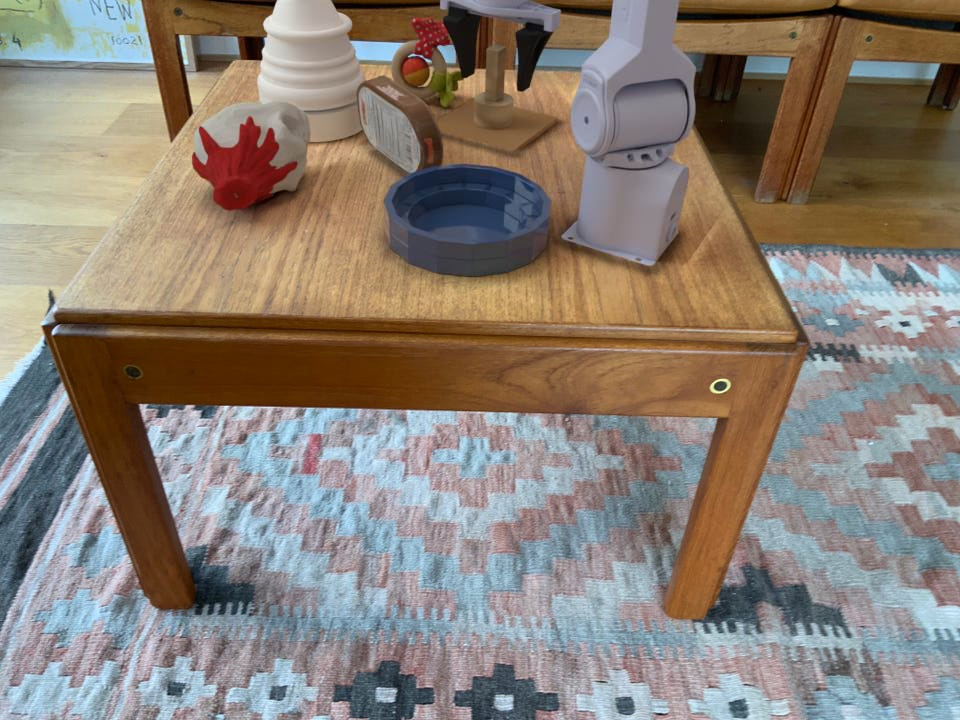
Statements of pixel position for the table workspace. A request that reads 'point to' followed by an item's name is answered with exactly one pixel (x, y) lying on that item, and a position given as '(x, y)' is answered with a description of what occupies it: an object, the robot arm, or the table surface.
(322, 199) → the table surface
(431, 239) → the bowl
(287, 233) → the table surface
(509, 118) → the wooden peg on disc
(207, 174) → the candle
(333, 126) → the honey pot
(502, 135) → the mat
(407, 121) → the tin
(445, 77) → the bird rattle
